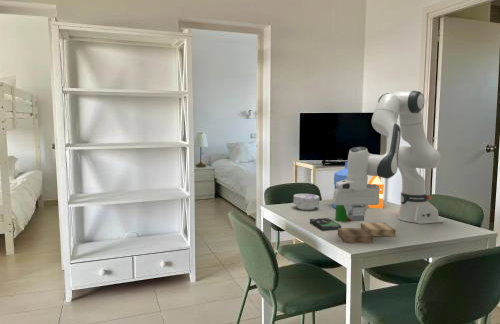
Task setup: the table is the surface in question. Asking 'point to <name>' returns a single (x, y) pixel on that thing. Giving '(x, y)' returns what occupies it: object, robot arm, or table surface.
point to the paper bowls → (306, 201)
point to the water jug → (340, 177)
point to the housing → (356, 212)
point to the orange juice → (377, 181)
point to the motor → (341, 214)
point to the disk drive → (325, 224)
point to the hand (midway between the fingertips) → (355, 214)
